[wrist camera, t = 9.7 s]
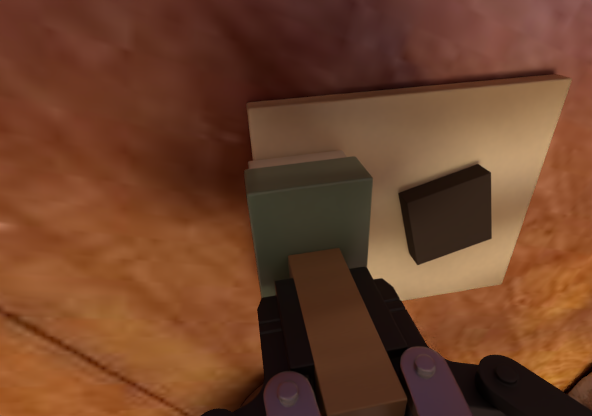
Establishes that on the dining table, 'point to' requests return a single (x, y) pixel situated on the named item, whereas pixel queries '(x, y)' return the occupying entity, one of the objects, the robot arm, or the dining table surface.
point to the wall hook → (324, 272)
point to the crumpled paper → (583, 391)
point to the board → (427, 161)
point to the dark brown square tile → (447, 213)
